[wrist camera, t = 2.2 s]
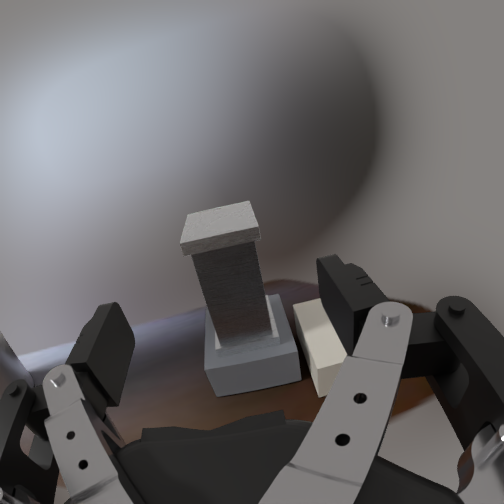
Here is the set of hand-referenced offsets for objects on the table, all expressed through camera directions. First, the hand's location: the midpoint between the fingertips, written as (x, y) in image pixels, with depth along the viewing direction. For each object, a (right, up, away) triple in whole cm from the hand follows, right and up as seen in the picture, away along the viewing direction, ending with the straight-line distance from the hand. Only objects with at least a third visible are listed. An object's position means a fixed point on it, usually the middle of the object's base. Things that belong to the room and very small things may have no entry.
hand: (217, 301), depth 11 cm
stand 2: (+10, -8, +16) cm, 21 cm away
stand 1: (+1, -9, +18) cm, 20 cm away
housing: (+1, -5, +17) cm, 17 cm away
